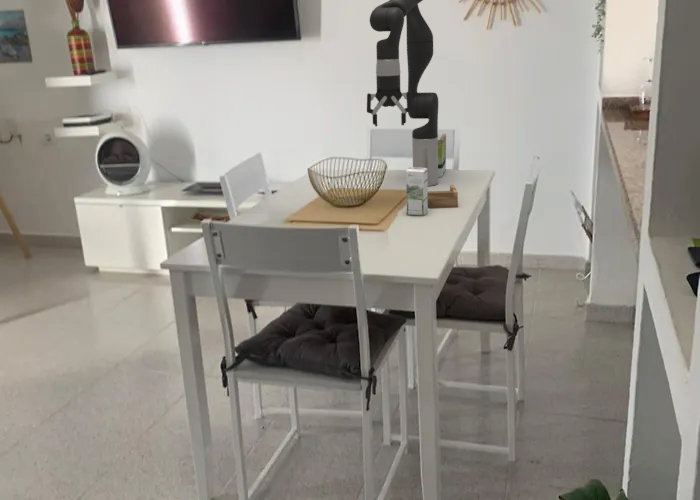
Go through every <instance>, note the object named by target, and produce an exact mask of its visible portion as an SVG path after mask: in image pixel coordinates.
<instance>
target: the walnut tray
mask: <svg viewBox="0 0 700 500" xmlns="http://www.w3.org/2000/svg"><path fill="white" fill-rule="evenodd" d="M458 195H459V192H458V190H457V188H456V187H455V185H454V184H450V185H449V190H435V191H434V190H433V191H431V190H430V191H428V190H427V199H428V209H444V208H445V209H446V208H448V209H450V208H459V207H458V202H459V201H458V200H459V199H458V198H459V197H458Z"/></svg>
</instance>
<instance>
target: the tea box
mask: <svg viewBox="0 0 700 500" xmlns="http://www.w3.org/2000/svg"><path fill="white" fill-rule="evenodd" d="M446 158H447V134H446V133H438V178H443V175H444V173H445V171H446V169H447V168H446V167H447V166H446V164H447V163H446V161H447V160H446Z"/></svg>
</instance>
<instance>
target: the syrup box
mask: <svg viewBox="0 0 700 500" xmlns="http://www.w3.org/2000/svg"><path fill="white" fill-rule="evenodd" d="M405 189H406V190H405V191H406V192H405V194H406V216H420V217H421V216H422V217H424V216H425V215H426V214H428V212H429V208H428V199H427V192H428V186H427V168H415V167H413V166H412V167H408V168H407V169H406V171H405Z"/></svg>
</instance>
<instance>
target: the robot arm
mask: <svg viewBox="0 0 700 500" xmlns="http://www.w3.org/2000/svg"><path fill="white" fill-rule="evenodd" d="M423 1H424V0H388V1H386V2H383V3H382V4H379V5H377V6H376V7H375V8H374V9H373V10H372V12H371V13H370V16H369V24H370V27H371V28H372V29H373V31H375V32H379V33H380V32H389V35H388V37H386V38H384V39H381V40H378V41H377V42H376V64H375V68H376V69H375V74H376V76H375V80H376V92H375V93H369V92H368V93H366V94H367V95H366V112H367V113H368V114H371V116H372V124H373V125H374V126H375V127H378V114H377V113H378V111H379V110H380V109H381V108H382V107H384V108H386V107H387V108H388V107H392V108H393V107H395V106H397V108H398V109H399V111H400V112H401V115H400V118H401V119H400V120H401V121H400V122H401V126H405V124H406V122H407V114H408V116H409V118H410V119H413V120H415V119H416V120H417V119H418V120H420V119H422V120H423V119H425V120H428V122H427V123H426V124H423V125H421V126H419V127H416V128H413V130H412V132H411V138H412V167H415V168H427V187H432V186H436V185H438V183H439V177H438V134H439V133H438V131H439V130H438V129H439V128H438V126H439V125H438V124H439V121H438V119H439V96H438V94H437V93H436V92H418V87H419V84H420V83H419V82H420V80H421V78H422V76H423V74H424V72H425V70H426V69H427V68H428V66H429V64H430V63H431V61H432V59H433V56H434V34H433V32H432V29H431V28H430V27H429V24H428V23H427V21H426V20H425V18H424V16H423V15H422V13H421V11H420V8H419V4H420V3H421V2H423ZM405 18H406V54H407V55H406V57H407V78H408V79H407V80H408V81H407V91H406V92H402V91H401V66H400V64H401V63H400V42H401V36H402V33H403V32H402V31H403V28H404V24H405ZM402 97H403V99H404V100H406V107H404V106H403V105H402V104H401V102H400V100H401V99H402ZM374 98H375V99H376V100H377V101H378V102H377V104H376V105H375V107H374V108H373V109H372V107H371V106H372V102H373V101H374Z"/></svg>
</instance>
